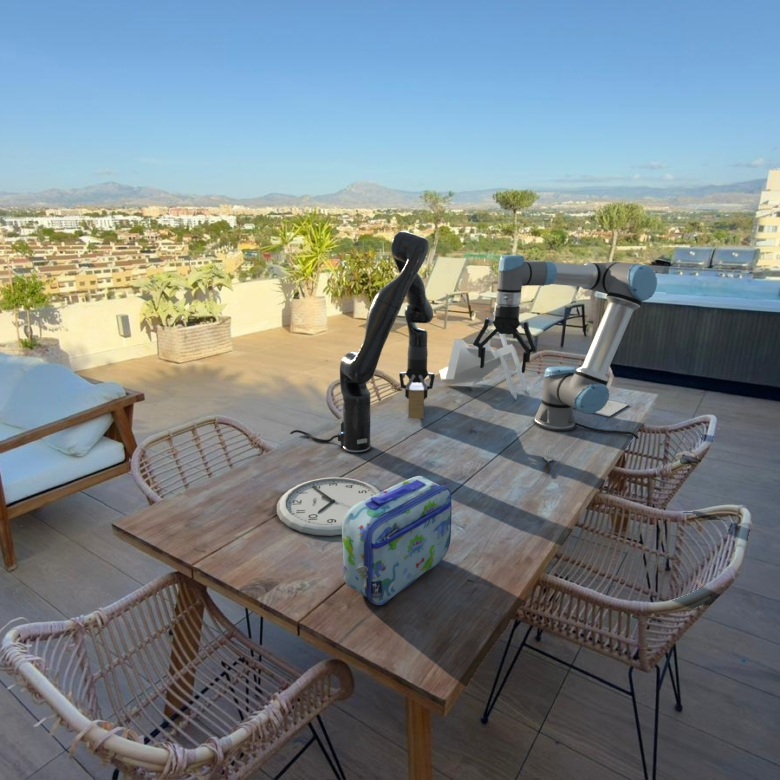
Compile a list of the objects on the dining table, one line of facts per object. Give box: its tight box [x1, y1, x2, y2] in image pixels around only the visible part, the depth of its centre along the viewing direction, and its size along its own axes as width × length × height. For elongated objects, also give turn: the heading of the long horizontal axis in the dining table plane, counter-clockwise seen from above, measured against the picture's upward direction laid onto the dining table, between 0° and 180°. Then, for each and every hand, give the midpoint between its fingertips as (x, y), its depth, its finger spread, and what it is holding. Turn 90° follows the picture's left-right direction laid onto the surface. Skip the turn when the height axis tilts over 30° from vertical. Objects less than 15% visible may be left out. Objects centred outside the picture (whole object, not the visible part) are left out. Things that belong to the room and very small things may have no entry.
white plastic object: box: [438, 311, 531, 400], centre depth 245 cm, size 37×45×31 cm
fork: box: [544, 449, 554, 474], centre depth 169 cm, size 3×16×2 cm, turn 160°
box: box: [407, 382, 425, 419], centre depth 214 cm, size 27×6×12 cm, turn 177°
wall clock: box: [276, 476, 382, 537], centre depth 142 cm, size 30×2×30 cm
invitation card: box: [595, 399, 629, 418], centre depth 226 cm, size 21×1×15 cm
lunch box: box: [341, 475, 453, 606], centre depth 111 cm, size 26×11×21 cm, turn 134°
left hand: (416, 398), depth 204 cm, fingers closed on box, 6 cm apart
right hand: (502, 369), depth 173 cm, fingers open, 13 cm apart
